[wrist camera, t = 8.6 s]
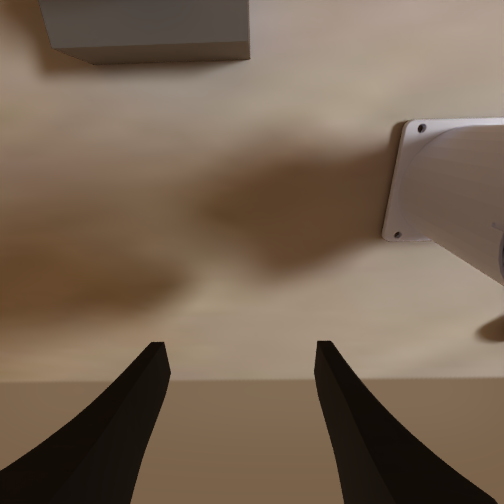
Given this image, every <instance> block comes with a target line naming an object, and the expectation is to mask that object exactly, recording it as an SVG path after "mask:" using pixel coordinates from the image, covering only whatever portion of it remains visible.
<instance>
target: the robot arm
mask: <svg viewBox="0 0 504 504" xmlns="http://www.w3.org/2000/svg"><path fill="white" fill-rule="evenodd" d="M420 124H422V126H423V129H422V131H421V132H418V126H419V125H420ZM396 232H399V234H398V235H397V236H395V237H394V235H395V233H396ZM382 237H383V239H385V240H386V241H434V242H436V243H437V244H439V245H440V246H442V247H444V248H445V249H447V250H448V251H450V252H451V253H453V254H455V255H456V256H458V257H459V258H461V259H462V260H464V261H465V262H467V263H469V264H470V265H472V266H473V267H475V268H476V269H478V270H480V271H481V272H483V273H484V274H486V275H487V276H489V277H490V278H492V279H494V280H495V281H497V282H498V283H500V284H501V285H503V286H504V117H484V118H450V119H416V120H409V121H408V122H406V123H405V125H404V126H403V129H402V134H401V139H400V144H399V149H398V154H397V159H396V165H395V170H394V175H393V180H392V185H391V190H390V195H389V200H388V205H387V210H386V215H385V220H384V225H383V230H382ZM170 375H171V371H170V366H169V362H168V357H167V353H166V348H165V344H164V342H151V343H150V344H149V345H148V346H147V347H146V348H145V349H144V350H143V351H142V352H141V354H140V355H139V356H138V357H137V358H136V359H135V360H134V361H133V362H132V363H131V364H130V365H129V366H128V368H127V369H126V370H125V371H124V372H123V373H122V374H121V375H120V376H119V377H118V378H117V379H116V380H115V381H114V382H113V383H112V384H111V385H110V386H109V387H108V388H107V389H106V390H105V391H104V392H103V393H102V394H100V395H99V396H98V397H97V398H96V399H95V400H94V401H93V402H92V403H91V404H90V405H89V406H87V407H86V408H85V409H84V410H83V411H82V412H81V413H79V414H78V415H77V416H76V417H75V418H74V419H72V420H71V421H70V422H68V423H67V424H66V425H64V426H63V427H62V428H61V429H59V430H58V431H57V432H55V433H54V434H53V435H51V436H50V437H49V438H48V439H46V440H45V441H43V442H42V443H41V444H39V445H38V446H37V447H35V448H34V449H32V450H31V451H30V452H28V453H27V454H25V455H24V456H22V457H21V458H19V459H18V460H16V461H15V462H13V463H12V464H10V465H9V466H7V467H6V468H4V469H3V470H1V471H0V504H130V502H131V499H132V494H133V490H134V487H135V483H136V480H137V476H138V472H139V469H140V465H141V462H142V458H143V456H144V453H145V449H146V447H147V444H148V441H149V438H150V436H151V433H152V431H153V428H154V425H155V422H156V419H157V417H158V414H159V412H160V409H161V406H162V403H163V401H164V398H165V395H166V391H167V387H168V383H169V379H170ZM314 375H315V381H316V387H317V392H318V397H319V401H320V404H321V408H322V411H323V415H324V418H325V422H326V425H327V429H328V433H329V435H330V439H331V443H332V447H333V450H334V454H335V459H336V463H337V468H338V473H339V478H340V483H341V488H342V494H343V499H344V504H498V503H497V502H496V501H495V499H493V498H492V497H491V496H489V495H488V494H487V493H485V492H484V491H483V490H481V489H480V488H478V487H477V486H476V485H474V484H473V483H472V482H470V481H469V480H467V479H466V478H465V477H463V476H462V475H461V474H459V473H458V472H457V471H455V470H454V469H453V468H451V467H450V466H449V465H447V463H445V462H444V461H443V460H442V459H440V458H439V457H438V456H437V455H435V454H434V453H433V452H432V451H431V450H430V449H428V448H427V447H426V446H425V445H424V444H423V443H422V442H420V441H419V440H418V439H417V438H416V437H415V436H413V435H412V434H411V433H410V432H409V431H408V430H407V429H406V428H405V427H404V426H403V425H402V424H401V423H400V422H399V421H397V420H396V419H395V418H394V417H393V416H392V415H391V414H390V413H389V412H388V411H387V410H386V408H385V407H384V406H383V405H382V404H381V403H380V402H379V401H378V400H377V399H376V398H375V396H373V394H372V393H371V392H370V391H369V390H368V389H367V388H366V386H365V385H364V384H363V383H362V381H361V380H360V379H359V378H358V376H357V375H356V374H355V373H354V371H353V370H352V369H351V368H350V366H349V365H348V364H347V362H346V361H345V360H344V358H343V357H342V355H341V354H340V353H339V351H338V350H337V348H336V347H335V345H334V344H333V343H332V342H331V341H317V349H316V359H315V368H314Z"/></svg>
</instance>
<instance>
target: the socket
mask: <svg viewBox="0 0 504 504" xmlns="http://www.w3.org/2000/svg"><path fill="white" fill-rule="evenodd" d="M38 2H39V5H40V9H41V12H42V16H43V19H44V23H45V26H46V30H47V33H48V37H49V40H50V44H51V47H52V49H55V50H57V51H60V52H63V53H65V54H68V55H70V56H73V57H75V58H78V59H81V60H83V61H86V62H88V63H91V64H93V65H97V64H125V63H153V62H182V61H210V60H238V59H250V29H249V0H38Z"/></svg>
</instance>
